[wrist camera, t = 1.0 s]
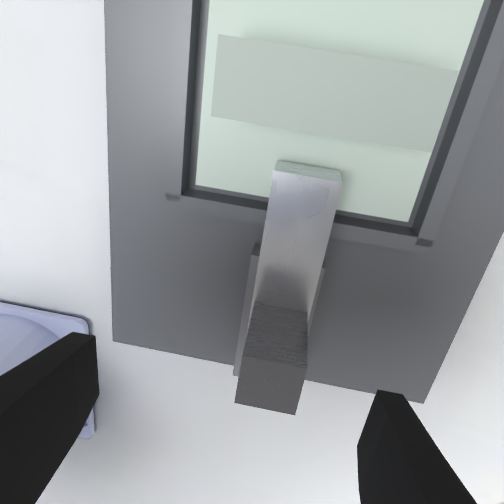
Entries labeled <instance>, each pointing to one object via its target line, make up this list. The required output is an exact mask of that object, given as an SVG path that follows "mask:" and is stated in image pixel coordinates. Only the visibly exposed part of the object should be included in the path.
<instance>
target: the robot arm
mask: <svg viewBox="0 0 504 504" xmlns="http://www.w3.org/2000/svg"><path fill="white" fill-rule="evenodd" d="M98 396H99V383H98V368H97V353H96V338H95V336H94V335H89V330H88V324H87V323H86V321H84V320H83V319H81V318H77V317H72V316H67V315H62V314H57V313H52V312H47V311H42V310H37V309H32V308H27V307H22V306H17V305H12V304H7V303H2V302H0V504H35V503H36V501H37V500H38V498H39V497H40V495H41V494H42V492H43V491H44V489H45V487H46V486H47V484H48V483H49V481H50V480H51V478H52V477H53V475H54V473H55V472H56V470H57V469H58V467H59V466H60V464H61V463H62V461H63V459H64V458H65V456H66V455H67V453H68V452H69V450H70V448H71V447H72V445H73V444H74V442H75V441H76V439H77V437H78V438H83V439H90V438H91V437H92V436H93V434H94V414H93V406H94V404H95V402H96V400H97V398H98ZM357 457H358V481H359V493H360V501H361V504H477V503H476V501H475V500H474V499H473V497H472V496H471V495H470V493H469V492H468V490H467V489H466V488H465V486H464V485H463V483H462V482H461V481H460V479H459V478H458V476H457V475H456V473H455V472H454V471H453V469H452V468H451V466H450V465H449V463H448V462H447V460H446V459H445V458H444V456H443V455H442V453H441V452H440V450H439V449H438V447H437V446H436V444H435V443H434V441H433V440H432V438H431V437H430V435H429V434H428V432H427V430H426V429H425V427H424V426H423V424H422V423H421V421H420V420H419V418H418V417H417V415H416V414H415V412H414V410H413V409H412V407H411V406H410V404H409V403H408V401H407V400H406V398H405V397H404V395H403V394H399V393H394V392H389V391H384V390H378V389H377V392H376V395H375V398H374V400H373V403H372V406H371V409H370V412H369V414H368V417H367V420H366V423H365V425H364V428H363V431H362V434H361V436H360V439H359V442H358V445H357Z"/></svg>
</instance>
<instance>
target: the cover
mask: <svg viewBox="0 0 504 504" xmlns="http://www.w3.org/2000/svg"><path fill="white" fill-rule="evenodd" d="M483 2H484V0H210V2H209V15H208V28H207V41H206V54H205V67H204V80H203V93H202V106H201V119H200V132H199V145H198V158H197V171H196V184H195V185H200V186H206V187H211V188H217V189H223V190H228V191H234V192H240V193H245V194H251V195H257V196H262V197H268V198H269V196H270V190H271V184H272V178H273V172H274V168H275V165H276V162H277V160H279V161H285V162H291V163H297V164H303V165H309V166H314V167H320V168H326V169H332V170H338V171H340V174H341V178H342V181H343V184H342V188H341V192H340V196H339V200H338V204H337V208H336V210H342V211H348V212H353V213H359V214H365V215H370V216H376V217H382V218H387V219H393V220H399V221H404V222H408V221H409V218H410V215H411V212H412V209H413V206H414V203H415V200H416V197H417V195H418V192H419V189H420V186H421V183H422V180H423V177H424V174H425V171H426V168H427V165H428V162H429V159H430V157H431V154H432V151H433V148H434V145H435V142H436V139H437V136H438V133H439V130H440V127H441V124H442V121H443V119H444V116H445V113H446V110H447V107H448V104H449V101H450V98H451V95H452V92H453V89H454V86H455V84H456V81H457V78H458V75H459V72H460V69H461V66H462V63H463V60H464V57H465V54H466V51H467V48H468V46H469V43H470V40H471V37H472V34H473V31H474V28H475V25H476V22H477V19H478V16H479V13H480V11H481V8H482V5H483Z"/></svg>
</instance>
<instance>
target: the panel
mask: <svg viewBox="0 0 504 504" xmlns="http://www.w3.org/2000/svg"><path fill="white" fill-rule="evenodd" d="M209 2H210V0H104V14H105V54H106V93H107V133H108V172H109V212H110V251H111V291H112V330H113V341H115V342H120V343H125V344H130V345H135V346H140V347H145V348H150V349H155V350H160V351H165V352H169V353H174V354H179V355H184V356H189V357H194V358H199V359H204V360H209V361H214V362H219V363H224V364H229V365H234V370H233V375H234V376H239V372H240V366H241V360H242V355H243V350H244V346H245V340H246V334H247V328H248V322H249V316H250V310H251V304H252V298H253V292H254V286H255V280H256V274H257V268H258V262H259V256H260V250H261V244H262V238H263V232H264V226H265V220H266V214H267V208H268V202H269V198H268V197H262V196H257V195H251V194H245V193H240V192H234V191H228V190H223V189H217V188H211V187H206V186H200V185H195V184H196V171H197V158H198V145H199V132H200V119H201V106H202V93H203V80H204V67H205V54H206V41H207V28H208V15H209ZM503 232H504V0H484V2H483V5H482V8H481V11H480V13H479V16H478V19H477V22H476V25H475V28H474V31H473V34H472V37H471V40H470V43H469V46H468V48H467V51H466V54H465V57H464V60H463V63H462V66H461V69H460V72H459V75H458V78H457V81H456V84H455V86H454V89H453V92H452V95H451V98H450V101H449V104H448V107H447V110H446V113H445V116H444V119H443V121H442V124H441V127H440V130H439V133H438V136H437V139H436V142H435V145H434V148H433V151H432V154H431V157H430V159H429V162H428V165H427V168H426V171H425V174H424V177H423V180H422V183H421V186H420V189H419V192H418V195H417V197H416V200H415V203H414V206H413V209H412V212H411V215H410V218H409V221H408V222H404V221H399V220H393V219H387V218H382V217H376V216H370V215H365V214H359V213H353V212H348V211H342V210H336V212H335V216H334V220H333V224H332V228H331V232H330V236H329V240H328V244H327V248H326V252H325V256H324V260H323V264H322V268H321V272H320V276H319V280H318V284H317V288H316V292H315V296H314V300H313V304H312V308H311V312H310V316H309V320H308V334H307V372H306V375H305V379H304V380H309V381H313V382H318V383H323V384H328V385H333V386H338V387H343V388H348V389H353V390H358V391H363V392H368V393H373V394H376V392H377V389H378V390H384V391H389V392H394V393H399V394H403V395H404V397H405V398H406V400H408V401H413V402H418V403H424V401H425V399H426V397H427V395H428V393H429V391H430V388H431V386H432V384H433V382H434V380H435V378H436V375H437V373H438V371H439V369H440V367H441V365H442V363H443V360H444V358H445V356H446V354H447V352H448V350H449V348H450V345H451V343H452V341H453V339H454V337H455V335H456V333H457V330H458V328H459V326H460V324H461V322H462V320H463V317H464V315H465V313H466V311H467V309H468V307H469V305H470V302H471V300H472V298H473V296H474V294H475V292H476V290H477V287H478V285H479V283H480V281H481V279H482V277H483V275H484V272H485V270H486V268H487V266H488V264H489V262H490V259H491V257H492V255H493V253H494V251H495V249H496V247H497V244H498V242H499V240H500V238H501V236H502V234H503Z"/></svg>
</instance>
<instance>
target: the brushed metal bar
mask: <svg viewBox="0 0 504 504" xmlns="http://www.w3.org/2000/svg"><path fill="white" fill-rule="evenodd" d="M342 184H343V181H342V178H341V174H340V171H338V170H332V169H326V168H320V167H314V166H309V165H303V164H297V163H291V162H285V161H279V160H277V162H276V165H275V168H274V172H273V178H272V184H271V190H270V196H269V202H268V208H267V214H266V220H265V226H264V232H263V238H262V244H261V250H260V256H259V262H258V268H257V274H256V280H255V286H254V292H253V298H252V304H251V310H250V316H249V322H248V328H247V334H246V340H245V346H244V350H243V355H242V360H241V366H240V372H239V378H238V384H237V391H236V397H235V403H238V404H243V405H248V406H253V407H258V408H263V409H267V410H272V411H277V412H282V413H287V414H292V415H295V413H296V409H297V405H298V402H299V398H300V394H301V390H302V387H303V383H304V379H305V375H306V372H307V334H308V320H309V316H310V312H311V308H312V304H313V300H314V296H315V292H316V288H317V284H318V280H319V276H320V272H321V268H322V264H323V260H324V256H325V252H326V248H327V244H328V240H329V236H330V232H331V228H332V224H333V220H334V216H335V212H336V208H337V204H338V200H339V196H340V192H341V188H342Z"/></svg>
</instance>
